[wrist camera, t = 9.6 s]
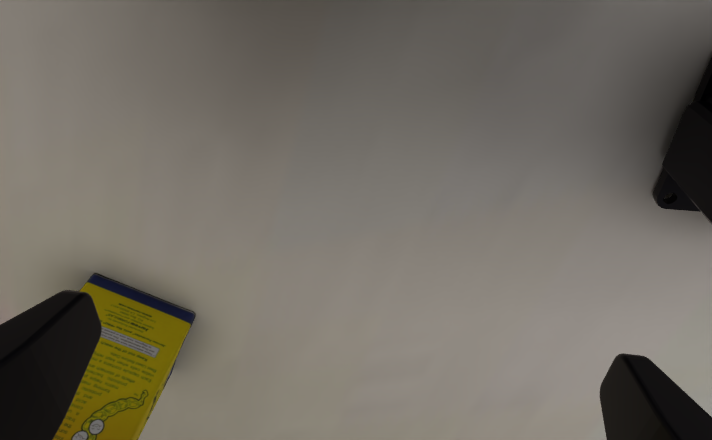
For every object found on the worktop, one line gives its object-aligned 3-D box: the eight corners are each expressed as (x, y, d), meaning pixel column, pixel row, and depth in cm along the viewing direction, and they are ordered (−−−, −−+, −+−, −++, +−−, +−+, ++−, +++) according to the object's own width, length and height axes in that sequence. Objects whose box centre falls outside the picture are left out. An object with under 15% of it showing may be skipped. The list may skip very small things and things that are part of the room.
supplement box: (174, 371, 31) (73, 573, 22) (79, 335, 30) (-68, 531, 21) (199, 312, 27) (93, 521, 18) (93, 269, 26) (-74, 469, 17)
